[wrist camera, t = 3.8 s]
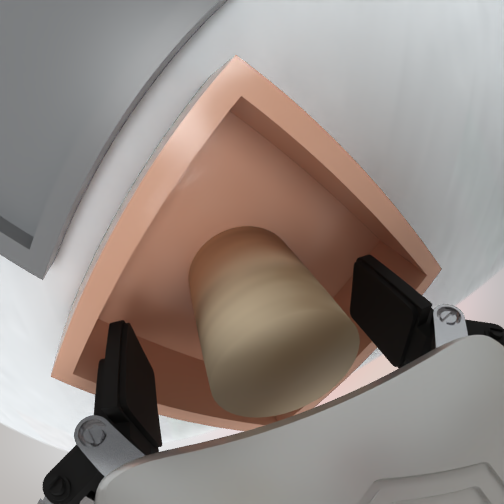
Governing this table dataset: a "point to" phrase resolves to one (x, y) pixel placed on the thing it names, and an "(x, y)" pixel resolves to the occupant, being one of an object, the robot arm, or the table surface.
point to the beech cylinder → (266, 325)
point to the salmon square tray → (223, 218)
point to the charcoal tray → (72, 103)
